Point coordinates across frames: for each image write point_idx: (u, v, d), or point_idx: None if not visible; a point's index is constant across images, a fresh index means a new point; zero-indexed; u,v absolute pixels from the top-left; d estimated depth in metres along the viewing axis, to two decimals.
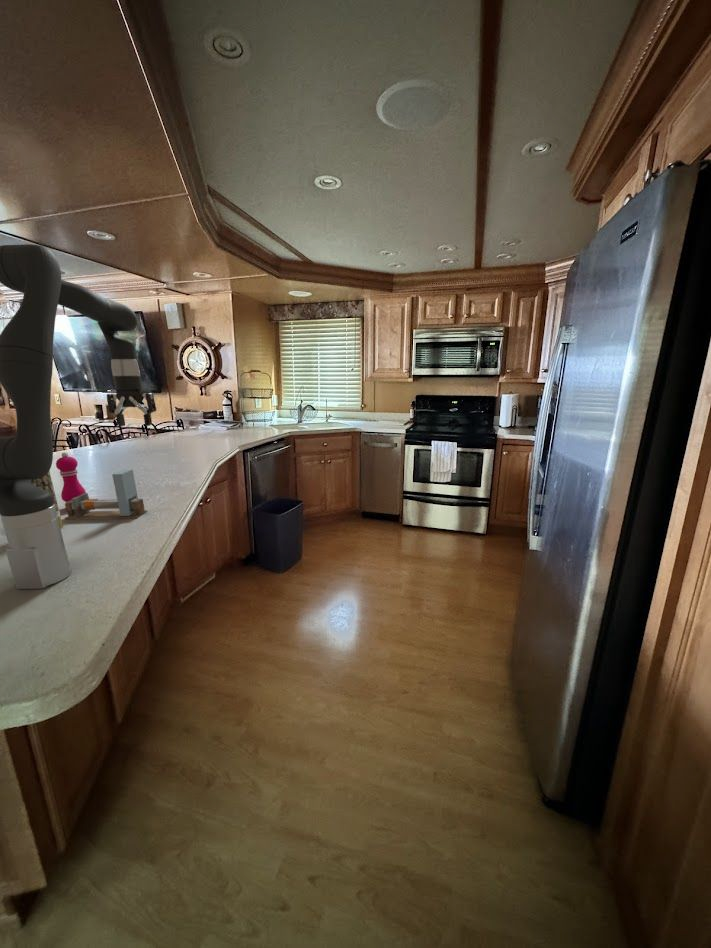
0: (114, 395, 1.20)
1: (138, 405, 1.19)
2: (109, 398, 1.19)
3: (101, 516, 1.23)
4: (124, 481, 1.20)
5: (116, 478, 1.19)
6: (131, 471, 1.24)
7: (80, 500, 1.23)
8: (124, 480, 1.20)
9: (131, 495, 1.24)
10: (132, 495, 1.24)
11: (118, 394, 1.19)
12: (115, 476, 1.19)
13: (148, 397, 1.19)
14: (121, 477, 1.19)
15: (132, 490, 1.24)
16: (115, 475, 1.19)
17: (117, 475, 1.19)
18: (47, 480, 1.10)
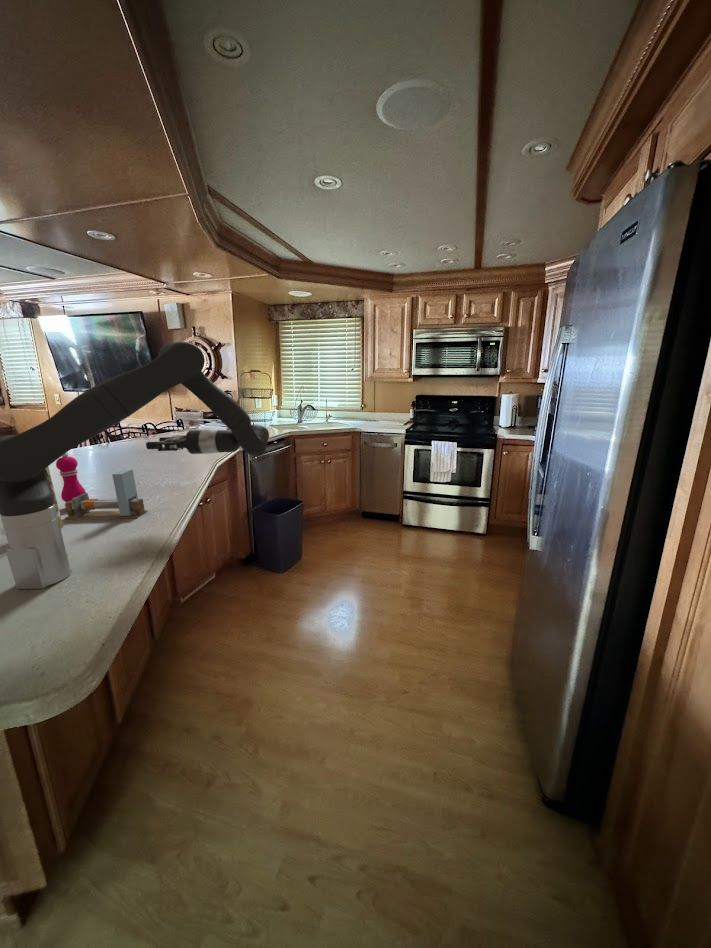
0: None
1: (169, 439, 1.16)
2: None
3: (101, 516, 1.23)
4: (124, 481, 1.20)
5: (116, 478, 1.19)
6: (131, 471, 1.24)
7: (80, 500, 1.23)
8: (124, 480, 1.20)
9: (131, 495, 1.24)
10: (132, 495, 1.24)
11: None
12: (115, 476, 1.19)
13: (171, 442, 1.12)
14: (121, 477, 1.19)
15: (132, 490, 1.24)
16: (115, 475, 1.19)
17: (117, 475, 1.19)
18: None
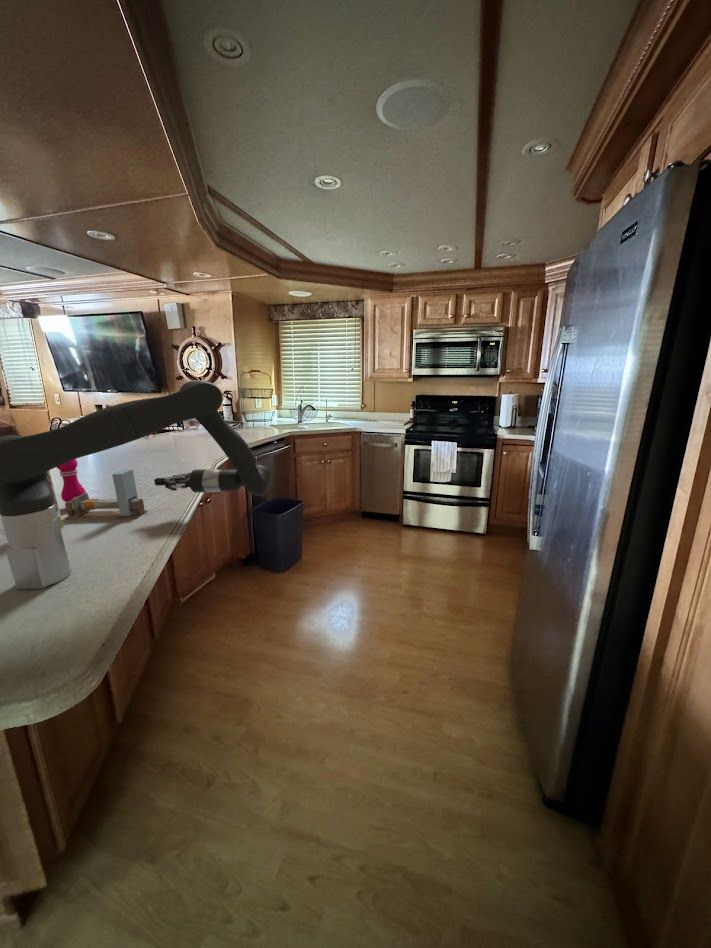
0: None
1: (174, 477, 1.21)
2: (186, 473, 1.27)
3: (101, 516, 1.23)
4: (124, 481, 1.20)
5: (116, 478, 1.19)
6: (131, 471, 1.24)
7: (80, 500, 1.23)
8: (124, 480, 1.20)
9: (131, 495, 1.24)
10: (132, 495, 1.24)
11: None
12: (115, 476, 1.19)
13: (171, 482, 1.17)
14: (121, 477, 1.19)
15: (132, 490, 1.24)
16: (115, 475, 1.19)
17: (117, 475, 1.19)
18: None
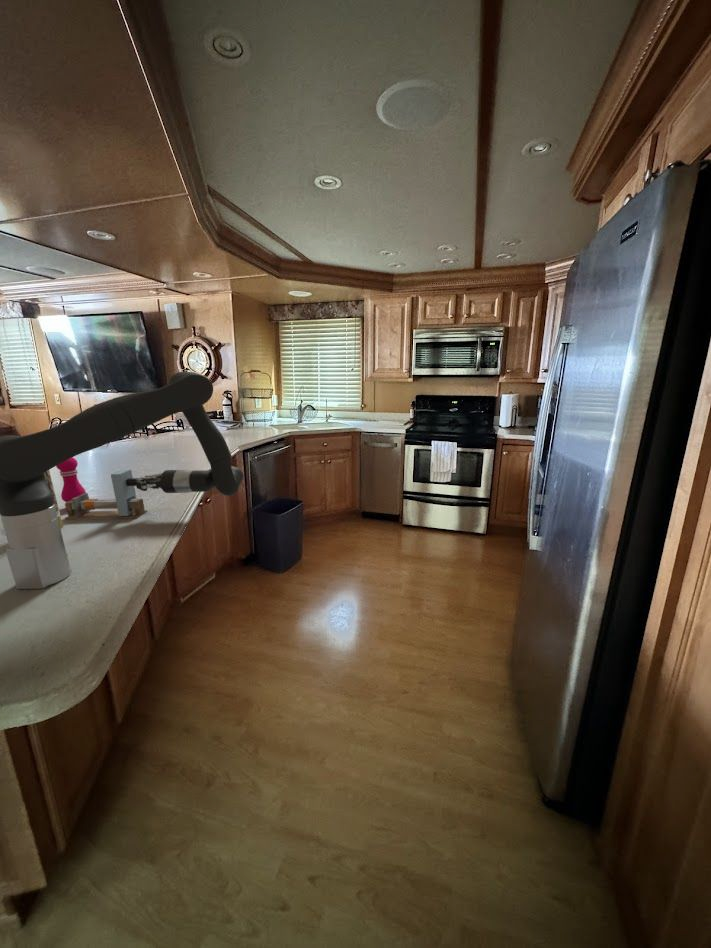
0: None
1: (146, 477, 1.21)
2: (159, 474, 1.27)
3: (101, 516, 1.23)
4: (122, 481, 1.20)
5: (114, 478, 1.19)
6: (129, 471, 1.24)
7: (80, 500, 1.23)
8: (122, 480, 1.20)
9: (129, 495, 1.24)
10: (130, 495, 1.24)
11: None
12: (113, 476, 1.19)
13: (142, 482, 1.17)
14: (119, 477, 1.19)
15: (130, 490, 1.24)
16: (113, 475, 1.19)
17: (115, 475, 1.19)
18: (47, 480, 1.10)
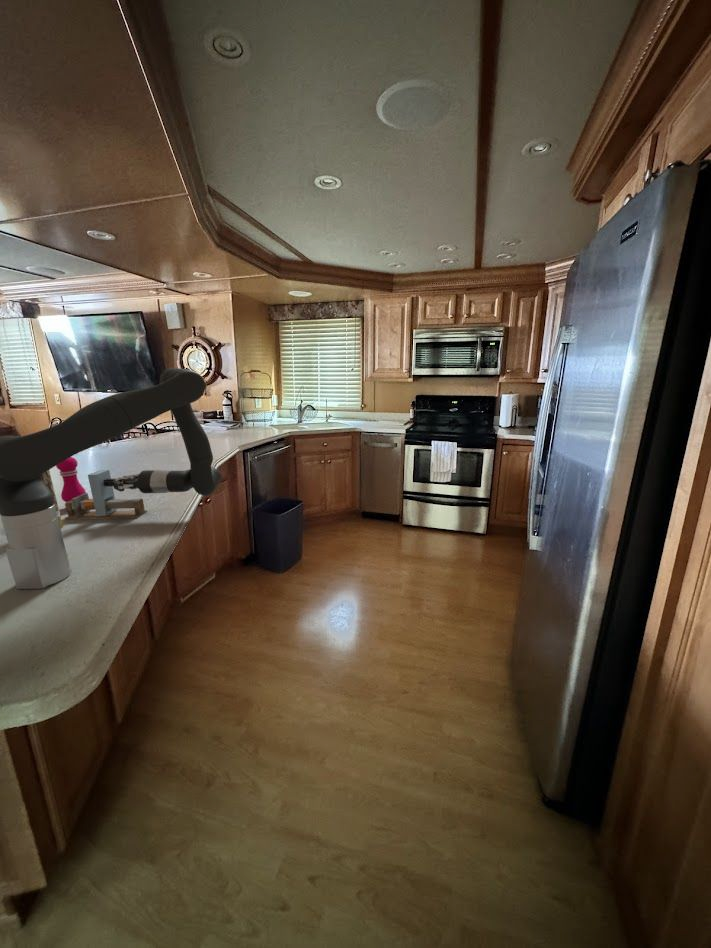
0: None
1: (123, 478, 1.21)
2: (138, 474, 1.27)
3: (101, 516, 1.23)
4: (99, 482, 1.20)
5: (92, 478, 1.19)
6: (107, 471, 1.24)
7: (80, 500, 1.23)
8: (100, 481, 1.20)
9: (107, 495, 1.24)
10: (108, 495, 1.24)
11: None
12: (90, 476, 1.19)
13: (118, 483, 1.17)
14: (97, 477, 1.19)
15: (108, 491, 1.24)
16: (90, 475, 1.19)
17: (92, 475, 1.19)
18: (47, 480, 1.10)
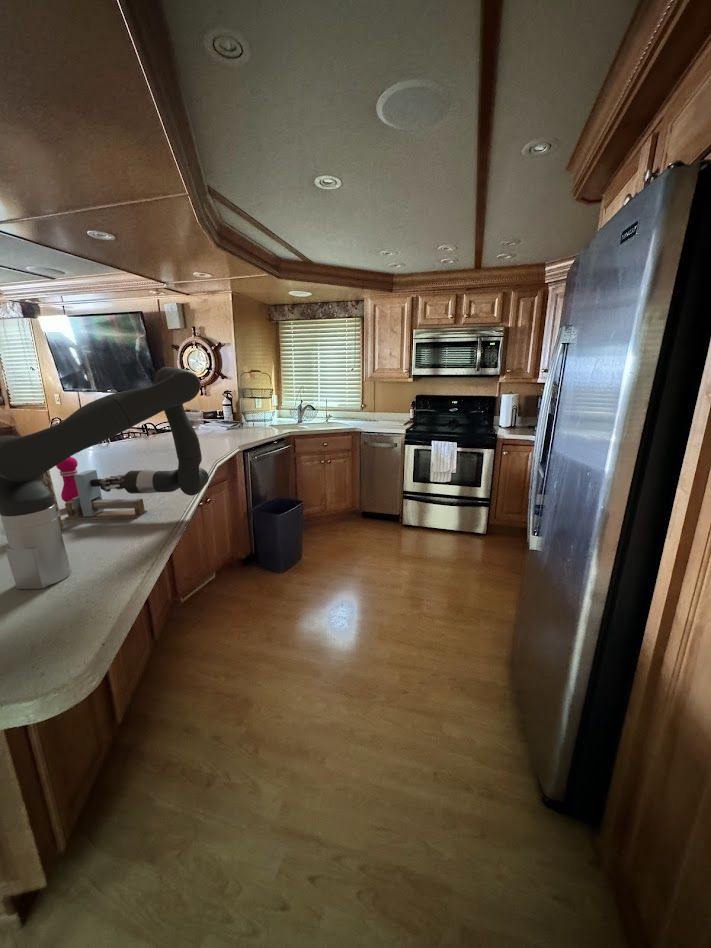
0: None
1: (110, 478, 1.21)
2: (125, 474, 1.27)
3: (101, 516, 1.23)
4: (86, 482, 1.20)
5: (78, 479, 1.19)
6: (94, 472, 1.24)
7: None
8: (86, 481, 1.20)
9: (94, 496, 1.24)
10: (95, 496, 1.24)
11: None
12: (77, 477, 1.19)
13: (105, 483, 1.17)
14: (83, 478, 1.19)
15: (95, 491, 1.24)
16: (77, 476, 1.19)
17: (79, 476, 1.19)
18: (47, 480, 1.10)
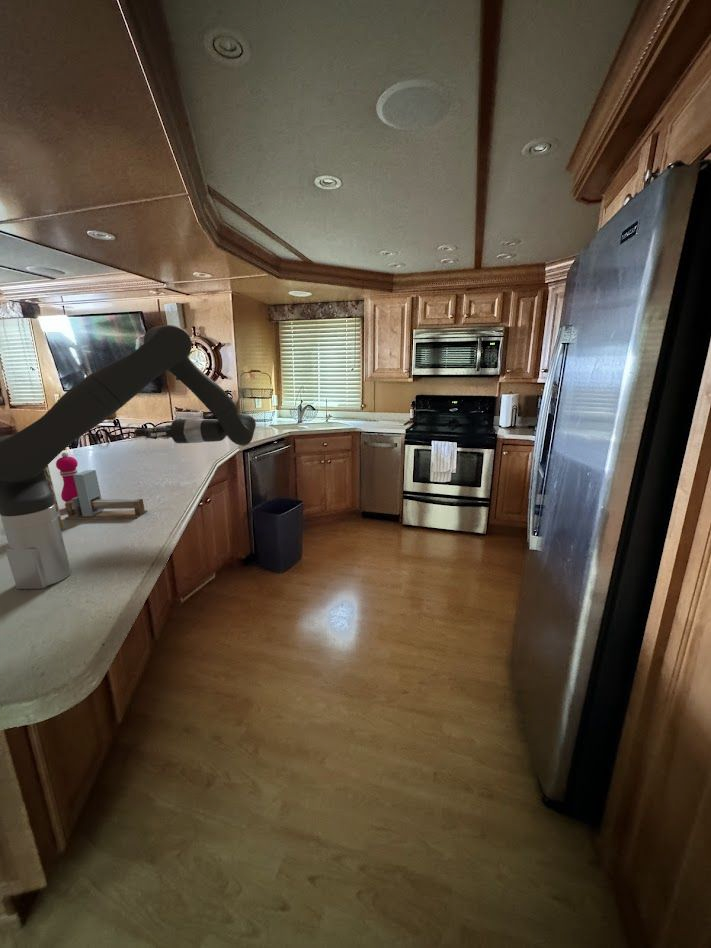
0: None
1: (155, 427, 1.16)
2: None
3: (101, 516, 1.23)
4: (85, 482, 1.20)
5: (77, 479, 1.19)
6: (94, 472, 1.24)
7: None
8: (86, 481, 1.20)
9: (94, 496, 1.24)
10: (95, 496, 1.24)
11: None
12: (76, 477, 1.19)
13: (151, 430, 1.12)
14: (82, 478, 1.19)
15: (94, 491, 1.24)
16: (76, 476, 1.19)
17: (78, 476, 1.19)
18: (47, 480, 1.10)
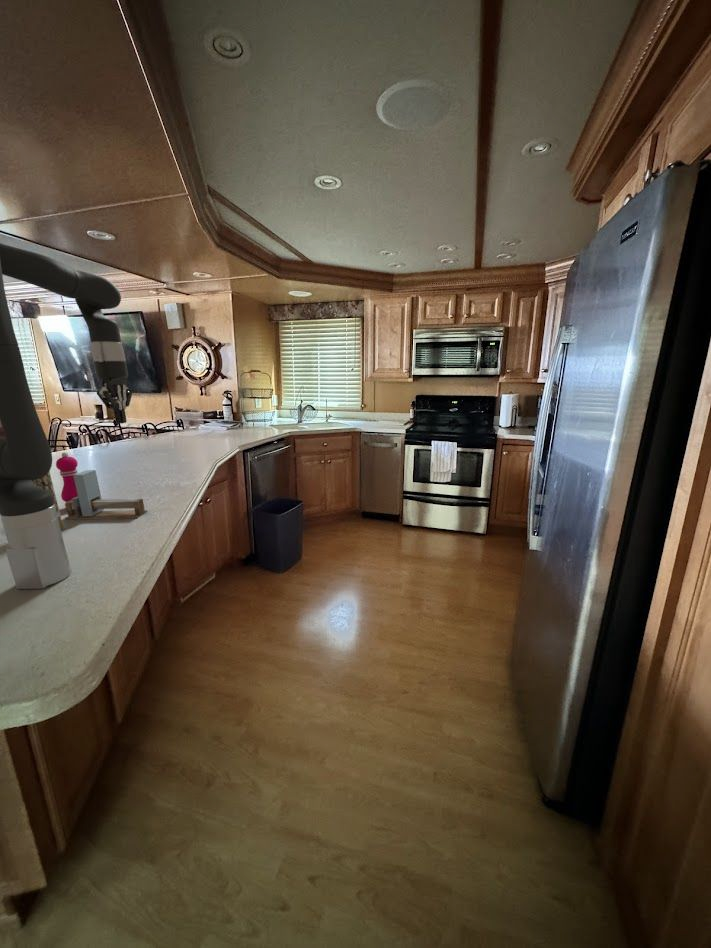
0: None
1: None
2: None
3: (101, 516, 1.23)
4: (85, 482, 1.20)
5: (77, 479, 1.19)
6: (94, 472, 1.24)
7: None
8: (86, 481, 1.20)
9: (94, 496, 1.24)
10: (95, 496, 1.24)
11: None
12: (76, 477, 1.19)
13: None
14: (82, 478, 1.19)
15: (94, 491, 1.24)
16: (76, 476, 1.19)
17: (78, 476, 1.19)
18: (47, 480, 1.10)
